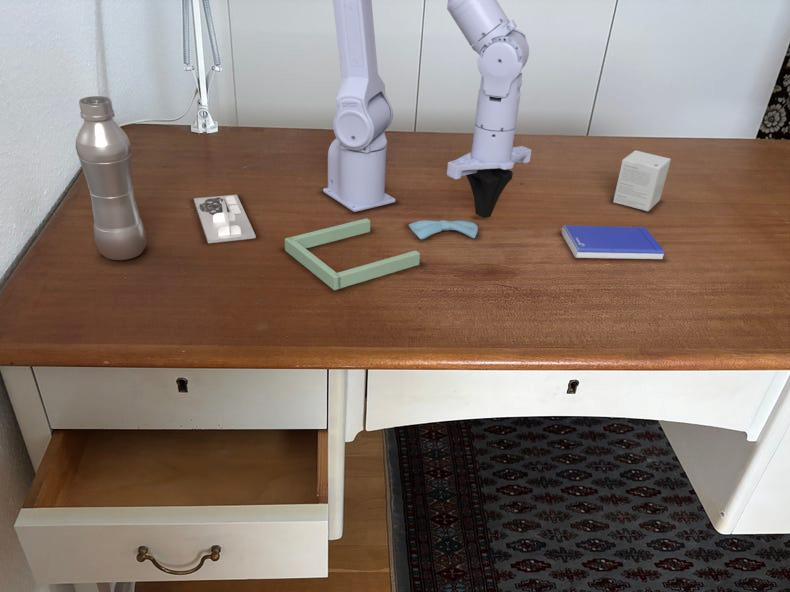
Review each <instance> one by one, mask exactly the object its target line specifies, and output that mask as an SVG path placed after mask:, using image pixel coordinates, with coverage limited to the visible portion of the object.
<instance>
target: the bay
mask: <svg viewBox="0 0 790 592" xmlns="http://www.w3.org/2000/svg"><path fill="white" fill-rule="evenodd" d="M370 232H371V220H370V219H369V218H367V217H366V218H362V219H358V220H354V221H350V222H346V223H342V224H338V225H334V226H330V227H326V228H321V229H318V230H314V231H310V232H306V233H301V234H298V235H294V236H289V237H286V238H284V251H285V252H286V253H288V254H289V255H290V256H291V257H293V258H294V259H295V260H296V261H297V262H298V263H300V264H301V265H303V267H305V268H306V269H307V270H308V271H309V272H311V273H312V274H314V275H315V276H316V277H317V278H318V279H319V280H321V281H322V282H323V283H325V285H327V286H328V287H329V288H331V290H333V291H337V290H340V289H343V288H346V287H349V286H353V285H356V284H360V283H364V282H366V281H369V280H374V279H376V278H380V277H383V276H387V275H389V274H393V273H397V272H400V271H403V270H406V269H410V268H414V267H416V266H420V261H421V260H420V259H421V253H420V252H419V251H418V250H413V251H408V252H405V253H402V254H398V255H395V256H391V257H388V258H384V259H380V260H377V261H374V262H371V263H367V264H363V265H360V266H356V267H353V268H350V269H346V270H343V271H338V272H337V271H335V270H334V269H333V268H331V267H330V266H329V265H328V264H326V263H325V262H323V260H321V259H320V258H319V257H317V256H316V255H315V254H314V253H312V252H311V251H309V250H308V249H309V248H310V249H311V248H313V247H316V246H317V247H318V246H321V245H324V244H325V245H326V244H328V243H329V244H330V243H332V242H336V241H340V240H344V239H348V238H351V237H356V236H359V235H364V234H367V233H370Z"/></svg>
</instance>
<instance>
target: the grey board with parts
mask: <svg viewBox="0 0 790 592" xmlns="http://www.w3.org/2000/svg"><path fill="white" fill-rule="evenodd" d="M193 201H194V205H195V208H196V211H197V215H198V217H199V221H200V223H201V226H202V229H203V233H204V237H205V239H206V241H207V243H208V244H213V243H214V244H216V243H224V242H234V241H244V240H251V239H257V237H256V233H255V230H254V228H253V227H252V224H251V222H250V220H249V218H248V216H247V213H246V211H245V209H244V207H243V204H242V203H241V200H240V198H239V196H238V194H228V195H227V194H226V195H216V196H215V195H214V196H206V197H194V198H193Z"/></svg>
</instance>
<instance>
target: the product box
mask: <svg viewBox="0 0 790 592" xmlns="http://www.w3.org/2000/svg"><path fill="white" fill-rule="evenodd" d="M671 161H672V159H671V158H670V157H666V156H660V155H657V154H653V153H648V152H644V151H641V150H633V151H632V152H631V153H630V154H628V155H627V156H626V157H624V158H623V159H622V160H621V165H620V169H619V173H618V176H617V177H618V178H617V182H616V186H615V190H614V196H613V200H612V203H613V204H618V205H621V206H625V207H628V208H632V209H637V210H640V211H645V212H649V211H650V210H652V209H653V208H654V206H656V204H657V203H659V202H660V201H661V198H662V194H663V190H664V187H665V183H666V180H667V176H668V172H669V168H670V166H671V165H670V164H671Z"/></svg>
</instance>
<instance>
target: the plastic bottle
mask: <svg viewBox="0 0 790 592" xmlns="http://www.w3.org/2000/svg"><path fill="white" fill-rule="evenodd" d="M78 104H79V110H80V112H79V114H80V118H81V119H82V120H83V123H82V125H81V127H80V128H79V131H78V132H77V135H76V138H75V144H74V145H75V151H76V154H77V156H78V157H77V158H78V160H79V162H80V166H81V168H82V171H83V174H84V176H85V180H86V184H87V187H88V190H89V195H90V198H91V199H90V200H91V208H92V215H93V240H94V241H93V242H94V243H95V245H96V249H97V250H98V252H99V253H100V254H101V255H102V256H103V257H105V258H106V259H109V260H114V261H125V260H130V259H134V258H137V257H138V256H140V255H141V254H142V253H143V252H144V250H145V248H146V246H147V233H146V230H145V226H144V223H143V221H142V218H141V217H140V212H139V208H138V204H137V201H136V196H135V190H134V182H133V181H134V180H133V174H132V173H133V172H132V171H133V169H132V168H133V167H132V166H133V165H132V145H131V141H130V139H129V137H128V135H127V134H126V132H125V130H124V129H122V127H121V126H120V125H119V124H118V123H117V122H116V121H115V120H114V117H115V116H116V115H115V110H114V109H113V103H112V99H111V98H110V97H108V96H102V95H101V96H100V95H93V96H86V97H83V98H80V99H79V101H78Z"/></svg>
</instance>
